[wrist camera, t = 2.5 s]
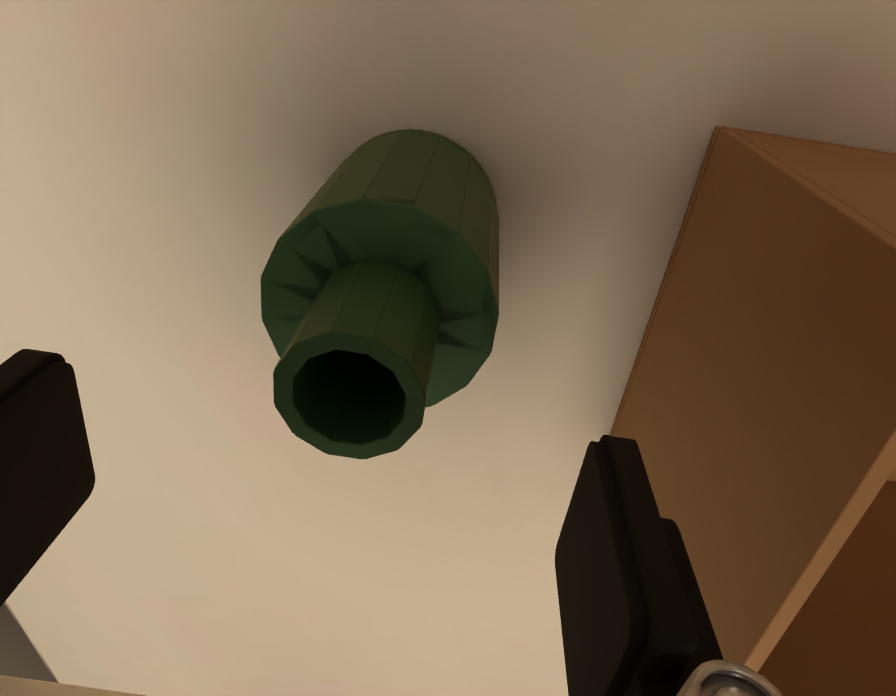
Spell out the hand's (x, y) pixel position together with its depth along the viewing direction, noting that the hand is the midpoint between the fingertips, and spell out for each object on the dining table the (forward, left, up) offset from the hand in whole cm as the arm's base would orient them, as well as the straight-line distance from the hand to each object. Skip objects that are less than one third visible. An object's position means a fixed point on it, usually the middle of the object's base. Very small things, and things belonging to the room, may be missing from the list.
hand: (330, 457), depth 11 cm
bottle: (0, 0, -12) cm, 12 cm away
